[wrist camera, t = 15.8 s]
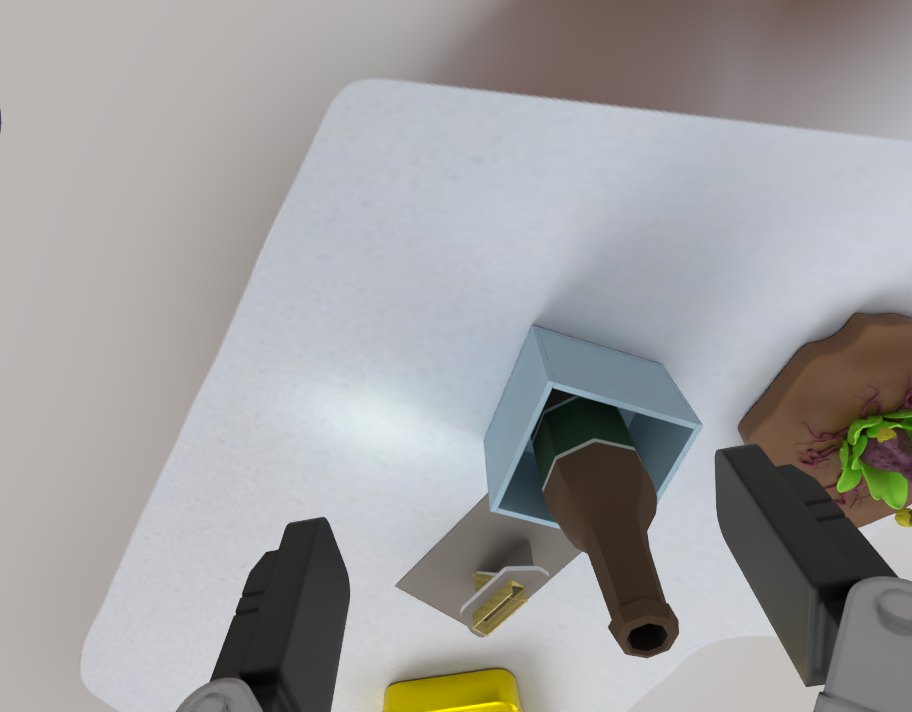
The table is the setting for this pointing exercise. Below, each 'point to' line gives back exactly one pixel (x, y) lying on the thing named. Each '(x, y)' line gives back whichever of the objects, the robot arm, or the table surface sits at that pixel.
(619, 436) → the beer bottle
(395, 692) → the element tile
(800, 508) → the robot arm
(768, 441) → the plant
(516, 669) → the table surface
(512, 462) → the case
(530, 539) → the platform
